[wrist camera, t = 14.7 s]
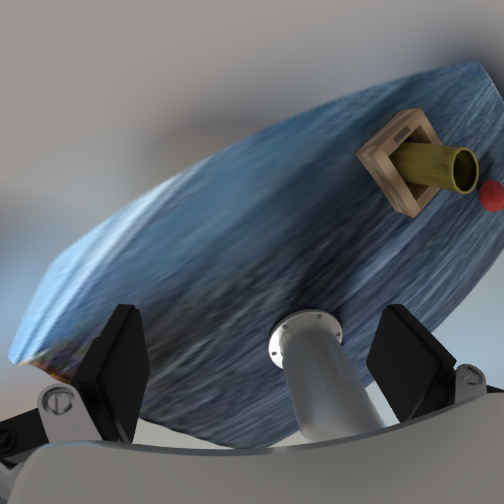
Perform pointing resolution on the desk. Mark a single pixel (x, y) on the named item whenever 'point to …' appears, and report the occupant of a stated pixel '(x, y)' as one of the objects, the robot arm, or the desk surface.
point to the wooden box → (384, 172)
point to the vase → (436, 166)
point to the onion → (492, 195)
